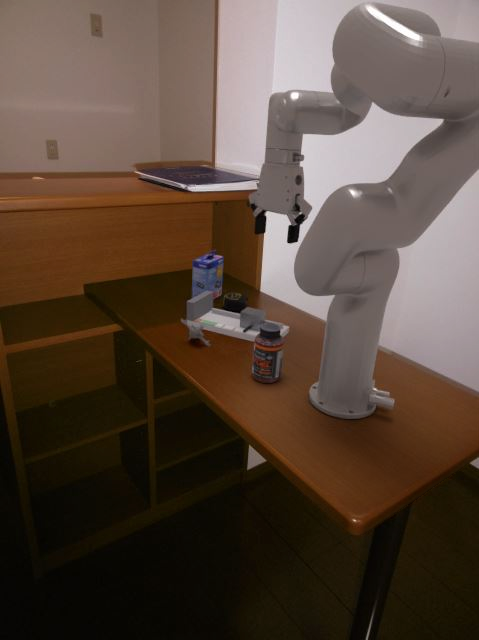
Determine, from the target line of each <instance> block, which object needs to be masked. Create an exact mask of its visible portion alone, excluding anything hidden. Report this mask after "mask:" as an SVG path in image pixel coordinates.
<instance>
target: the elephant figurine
mask: <svg viewBox="0 0 479 640" xmlns="http://www.w3.org/2000/svg"><path fill="white" fill-rule="evenodd" d="M180 323H182V325H185V326H186V327H187V328H188V330H189V332H188V333H189V337H188V339H187V341H190V339H199V340H201V341H202V342H203V343H204V345H206V346H207V347H210V346H211V343H209V342H210V340H206V339H205V338H204V333H203V332H202V331H203V330H204V329H203V328H204V327H205V326H204V327H203V326H202V325H201V323H202V322H201V323H200V324H199V326H198V327H196V326H194V325H191V326H190V325H188V324H187V319H183V317H181V319H180Z"/></svg>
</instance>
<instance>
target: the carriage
mask: <svg viewBox="0 0 479 640" xmlns="http://www.w3.org/2000/svg"><path fill="white" fill-rule="evenodd" d="M239 314H240V327H242V328H246V329H244V330H243V332H246V331H247V330H249V329H250V330H255V331H259V330H260V327H261V325H262V324H265V320H266V314H267V313H266V310H263V309H258V308H253V307H248V306H246V307H245V309H244V310H240V313H239Z"/></svg>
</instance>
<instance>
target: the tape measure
mask: <svg viewBox="0 0 479 640" xmlns="http://www.w3.org/2000/svg"><path fill="white" fill-rule="evenodd" d="M248 301H249V297H248V295H246V294H241V293H237V292H229V293H226V294H224V296H223V297H222V306H223V307H224V309H226V310H228V311H243V310H244V309H245V308H246V307H247V306H246V304H247V302H248Z"/></svg>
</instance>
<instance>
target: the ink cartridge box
mask: <svg viewBox="0 0 479 640" xmlns="http://www.w3.org/2000/svg"><path fill="white" fill-rule="evenodd" d="M216 251H217V249H214V250H212V251H210V252H209V253H207V254H204V255H203V256H199V257H197V258H196V259H195V258H194V259H193V260H192V274H191V275H192V278H191V279H192V283H191V284H192V285H191V299H192V298H194V297H196V296H198V295H199V294H201V293H203V292H205V291H212V292H213V300H215V299H216V298H219V297H220V296H221V295H222V293H223V289H222V288H223V277H224V276H223V273H224V261H225V260H224V259H225V257H224V256H222V255H220V254H219V255H218V254H215V253H216Z"/></svg>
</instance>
